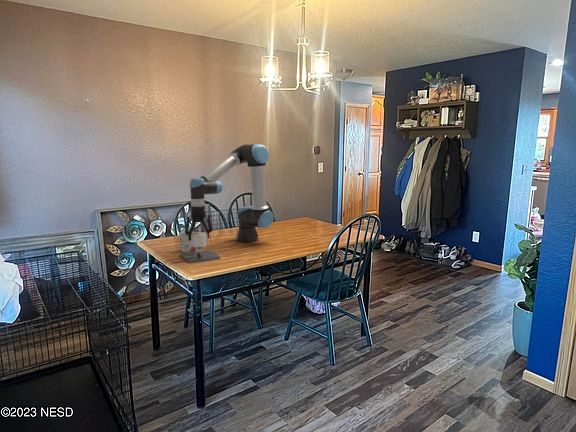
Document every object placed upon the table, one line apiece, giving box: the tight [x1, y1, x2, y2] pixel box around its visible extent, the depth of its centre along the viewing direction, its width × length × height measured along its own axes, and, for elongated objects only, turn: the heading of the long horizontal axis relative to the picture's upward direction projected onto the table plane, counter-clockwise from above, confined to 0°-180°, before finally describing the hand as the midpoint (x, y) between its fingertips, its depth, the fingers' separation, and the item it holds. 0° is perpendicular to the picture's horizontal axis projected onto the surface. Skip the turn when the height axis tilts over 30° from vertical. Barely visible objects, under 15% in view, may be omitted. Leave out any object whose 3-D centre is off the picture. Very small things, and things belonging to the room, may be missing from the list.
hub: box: [179, 247, 221, 264], centre depth 225 cm, size 18×18×6 cm
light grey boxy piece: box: [192, 231, 207, 248], centre depth 224 cm, size 8×8×8 cm
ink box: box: [178, 230, 197, 253], centre depth 240 cm, size 9×5×12 cm, turn 136°
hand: (199, 245), depth 224 cm, fingers closed on light grey boxy piece, 8 cm apart
